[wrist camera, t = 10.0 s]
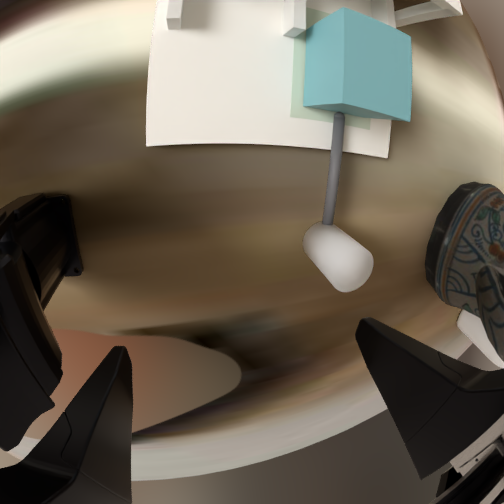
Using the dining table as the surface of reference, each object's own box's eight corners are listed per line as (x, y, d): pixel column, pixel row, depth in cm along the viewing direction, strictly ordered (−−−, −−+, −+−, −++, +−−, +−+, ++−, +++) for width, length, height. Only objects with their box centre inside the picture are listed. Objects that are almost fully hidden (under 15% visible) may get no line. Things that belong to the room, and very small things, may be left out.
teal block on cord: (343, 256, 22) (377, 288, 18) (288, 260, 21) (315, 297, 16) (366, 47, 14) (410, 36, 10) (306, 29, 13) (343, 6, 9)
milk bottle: (452, 333, 39) (512, 399, 22) (459, 306, 35) (530, 378, 18) (475, 312, 39) (534, 370, 22) (482, 284, 35) (551, 346, 18)
